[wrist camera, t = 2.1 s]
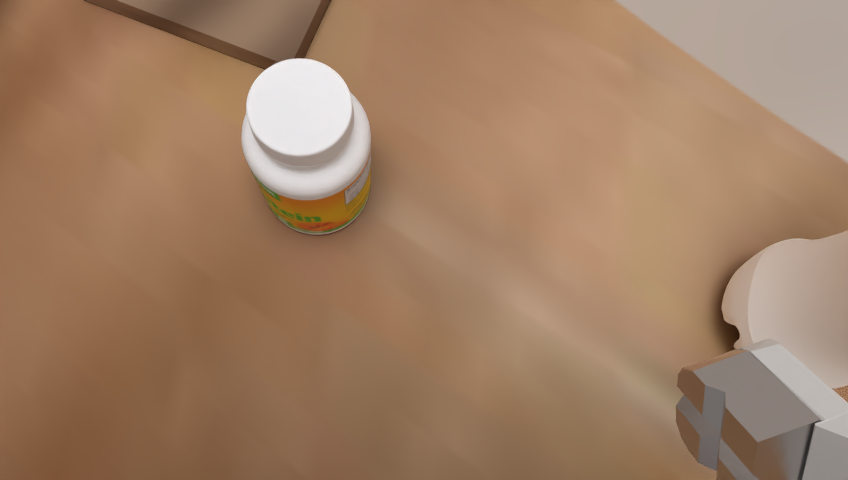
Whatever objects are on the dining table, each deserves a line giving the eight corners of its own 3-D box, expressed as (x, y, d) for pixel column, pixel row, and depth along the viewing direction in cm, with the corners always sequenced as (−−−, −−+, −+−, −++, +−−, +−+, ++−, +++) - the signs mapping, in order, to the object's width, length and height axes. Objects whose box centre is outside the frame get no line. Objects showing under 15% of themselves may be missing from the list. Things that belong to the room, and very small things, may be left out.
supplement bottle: (245, 206, 34) (197, 132, 24) (298, 120, 35) (271, 17, 25) (339, 255, 33) (327, 198, 24) (388, 166, 35) (396, 80, 25)
